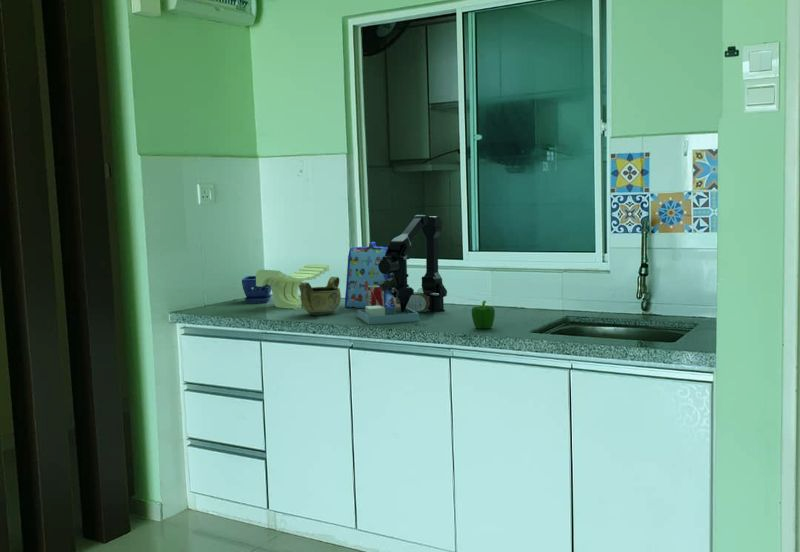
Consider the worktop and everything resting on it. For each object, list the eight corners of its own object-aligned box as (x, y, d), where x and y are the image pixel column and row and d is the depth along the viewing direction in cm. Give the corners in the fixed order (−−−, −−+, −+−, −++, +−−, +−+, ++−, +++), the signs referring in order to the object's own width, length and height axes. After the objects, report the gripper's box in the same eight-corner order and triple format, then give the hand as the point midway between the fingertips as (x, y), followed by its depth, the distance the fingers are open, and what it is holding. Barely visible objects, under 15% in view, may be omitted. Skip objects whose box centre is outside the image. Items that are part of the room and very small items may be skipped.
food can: (405, 313, 332) (405, 296, 331) (409, 315, 327) (408, 298, 326) (392, 314, 331) (392, 297, 330) (396, 316, 325) (395, 298, 325)
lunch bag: (401, 306, 366) (399, 241, 362) (384, 310, 354) (382, 243, 351) (361, 303, 377) (359, 240, 374) (343, 307, 366) (341, 242, 363)
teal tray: (405, 314, 340) (404, 306, 339) (418, 322, 320) (418, 313, 320) (357, 318, 334) (357, 309, 334) (368, 325, 315) (368, 316, 315)
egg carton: (380, 317, 331) (379, 305, 330) (385, 320, 323) (384, 308, 322) (365, 318, 329) (365, 306, 329) (370, 321, 321) (369, 309, 321)
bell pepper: (486, 330, 297) (486, 303, 296) (468, 328, 302) (467, 301, 301) (499, 327, 303) (499, 300, 302) (481, 325, 309) (480, 299, 308)
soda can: (382, 316, 338) (381, 287, 337) (365, 316, 340) (364, 287, 339) (385, 313, 345) (385, 284, 344) (369, 313, 347) (368, 285, 345)
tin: (430, 312, 346) (429, 292, 345) (427, 313, 343) (427, 293, 342) (396, 311, 352) (396, 291, 351) (393, 312, 349) (393, 292, 348)
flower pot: (270, 303, 387) (269, 278, 385) (242, 304, 387) (241, 278, 385) (274, 299, 400) (273, 275, 399) (246, 300, 400) (245, 275, 398)
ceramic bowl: (323, 309, 361) (322, 275, 359) (353, 312, 351) (352, 277, 349) (288, 317, 343) (286, 281, 341) (319, 319, 333) (318, 282, 331)
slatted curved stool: (306, 300, 392) (305, 263, 390) (330, 303, 382) (328, 264, 380) (257, 308, 370) (255, 269, 368) (280, 311, 359) (279, 270, 357)
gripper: (374, 270, 334) (375, 308, 335) (385, 275, 316) (387, 315, 317) (401, 269, 337) (402, 307, 338) (413, 273, 319) (414, 313, 320)
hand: (400, 310), depth 329 cm, fingers closed on food can, 5 cm apart
